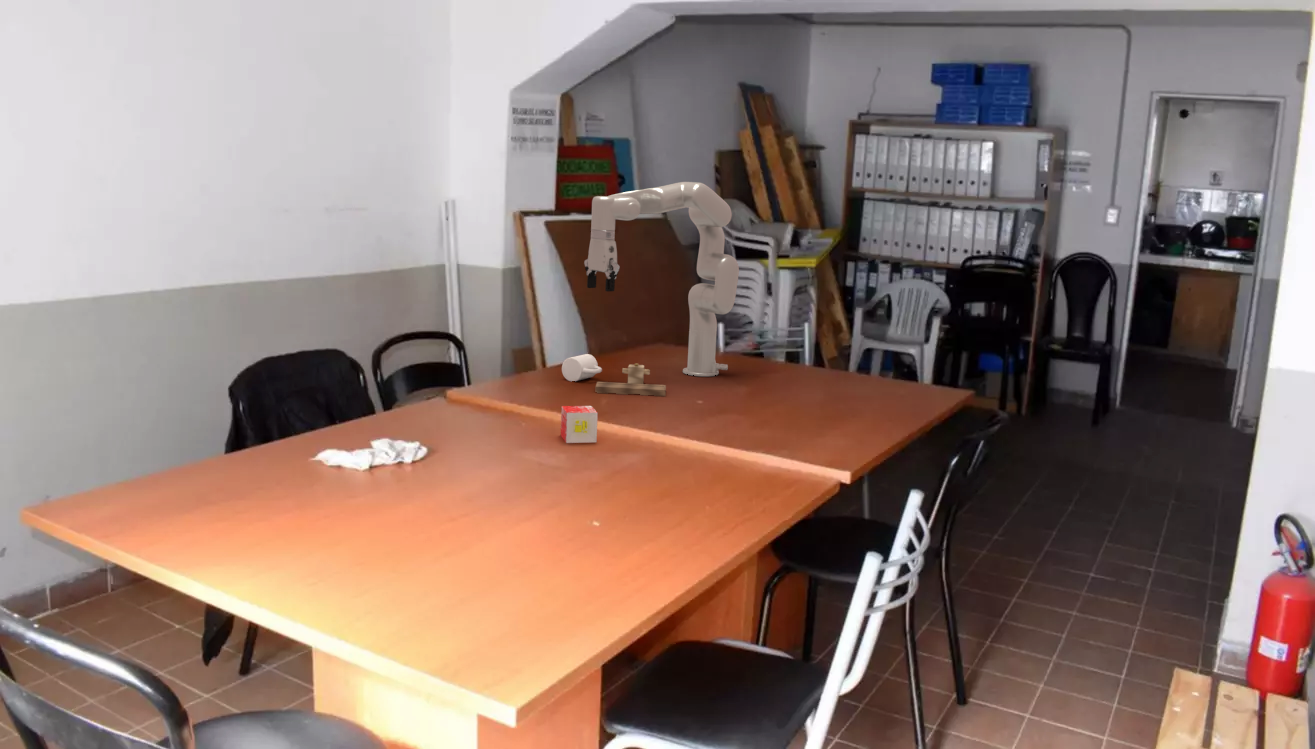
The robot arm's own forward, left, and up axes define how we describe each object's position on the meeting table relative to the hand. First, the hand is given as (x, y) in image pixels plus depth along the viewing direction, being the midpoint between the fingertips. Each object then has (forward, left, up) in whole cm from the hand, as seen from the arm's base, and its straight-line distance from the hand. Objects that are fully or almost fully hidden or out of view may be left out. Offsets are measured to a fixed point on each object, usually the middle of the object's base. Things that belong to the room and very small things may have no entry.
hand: (600, 289), depth 346 cm
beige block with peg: (-12, -5, -31) cm, 34 cm away
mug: (+5, -7, -31) cm, 32 cm away
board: (-11, +9, -31) cm, 34 cm away
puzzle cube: (0, +72, -31) cm, 79 cm away
